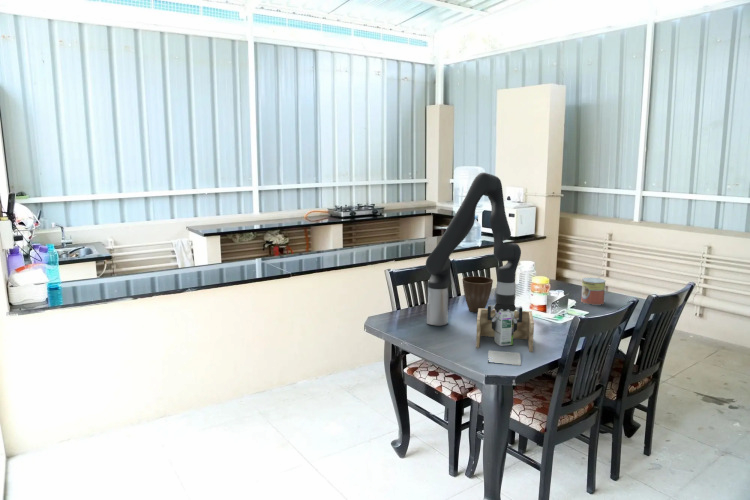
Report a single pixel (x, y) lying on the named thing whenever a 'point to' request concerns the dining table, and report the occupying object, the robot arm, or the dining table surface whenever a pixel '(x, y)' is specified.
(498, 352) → the grey mat
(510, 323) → the syrup box
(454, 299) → the dining table surface
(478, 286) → the plant pot
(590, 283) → the canned food
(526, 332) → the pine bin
